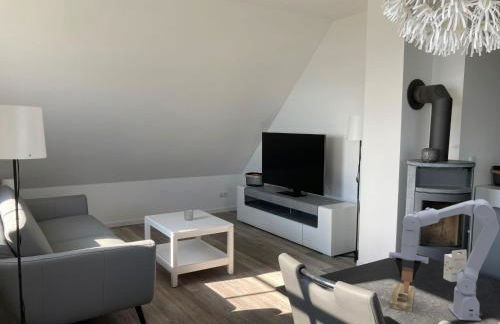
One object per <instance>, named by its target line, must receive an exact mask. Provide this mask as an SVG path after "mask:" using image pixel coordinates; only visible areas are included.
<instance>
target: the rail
mask: <svg viewBox="0 0 500 324" xmlns="http://www.w3.org/2000/svg"><path fill="white" fill-rule="evenodd" d="M414 296H415V286H414V285H409V289H408V294H405V293H404V283H403V284H402V283H395V282H394V285H393V290H392V293H391V297H390V301H389V308H390V309H396V310H399V311H400V310H401V311H405V312H413V304H414Z"/></svg>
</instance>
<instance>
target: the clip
mask: <svg viewBox="0 0 500 324" xmlns="http://www.w3.org/2000/svg"><path fill="white" fill-rule="evenodd" d="M413 269H414V268H409V267H402V278H401V281H402V282H403V285H404V293H405V294H408V289H409V286H410V283H413V280H412V279H413Z"/></svg>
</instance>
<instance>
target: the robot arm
mask: <svg viewBox="0 0 500 324" xmlns="http://www.w3.org/2000/svg"><path fill="white" fill-rule="evenodd" d="M462 214H463V215H467V216H470V217H472V216H473V215H474V216H475V218H476V219H477V220H479V222H480V223H481V225H482V228H481V231H480V233H479V235H478V237H477V239H476V241H475V243H474V245H473V248H472V250H471V252H470V255H469V256H468V258H467V262H466V264H465V265H464V266H463V268H462V270H461V271H459V272H458V273H457V274H456V286H455V287H454V290H453V305H452V306H451V307H450V306H449V307H448V310H449V311H450V312H451V313H452V314H453V315H454V316H455V318H457V319H458V320H459V321H475V322H477V321H479V322H480V321H482V319H481V317H480V308H481V307H480V302H479V300H478V298H477V296H476V295H477V281H478V277H479V274H480V270H481V268H482V267H483V264H484V262H485V260H486V258H487V256H488V254H489V252H490V249H491V247H492V245H493V243H494V241H495V239H496V237H497V235H498V232H499V231H500V225H499V222H498V217H497V213H496V211H495V210H494V208H493V207H492V205H491V204H490V202H489V201H487V200H486V199H483V198H477V199H475V200H473V199H472V200H467V201H463V202H460V203H456V204H452V205H450V206H447V207H444V208H441V209H435V208H430V207H426V208H425V209H424V210H421V211H413V212H412V213H407V214H406V215H405V216H404V217H403V219H402V223H401V224H402V226H403V227H402V232H401V244H400V245H401V249H400V252H395V251H394V252H393V251H392V252H391V251H390V252H388V259H395V264H396V266H397V269H398V272H399V273H398V274H399V278H402V268H403V261H411V262H413V268H412V269H413V279H412V281H415V277H416V275H417V271H418V270H419V268H420V267H421V264H422V263H424V264H427V265H428V264H429V257H427V256H422V255H418V253H417V251H418V236H419V234H418V228H419V227H420V228H421V227H422V228H423V227H427V226H430V225H434V224H437V223H439V221H440V220H441V219H444V218H448V217H452V216H456V215H462Z"/></svg>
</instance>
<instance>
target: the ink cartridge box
mask: <svg viewBox="0 0 500 324" xmlns="http://www.w3.org/2000/svg"><path fill="white" fill-rule="evenodd" d="M467 251H468V250H467V249H456V250H452V251H451V253H448V254H447V253H445V254H444V255H443V257H444V258H443V259H444V260H443V276H442V277H443V279H444V280H446V281H448V282H449V283H454V282H456V283H457V281H456V274H457V273H458V272H459V271H461V270H462V268H463V266H464V265H465V264H466V262H467V260H468V258H467V257H468V256H467V253H468V252H467Z"/></svg>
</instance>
